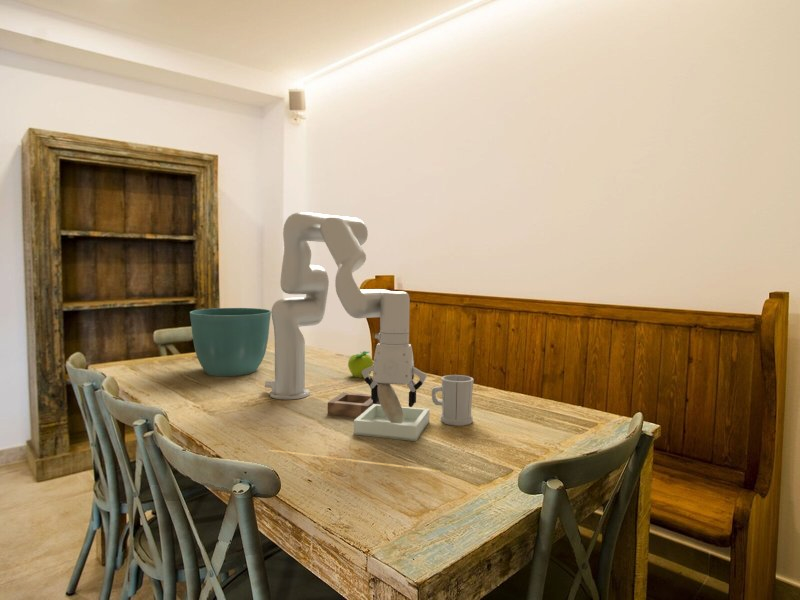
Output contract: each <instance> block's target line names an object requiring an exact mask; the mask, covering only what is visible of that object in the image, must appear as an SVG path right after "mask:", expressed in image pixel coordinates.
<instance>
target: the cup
mask: <svg viewBox="0 0 800 600" xmlns="http://www.w3.org/2000/svg"><path fill="white" fill-rule="evenodd" d="M474 380H475V379H474V378H473V377H471V376H469V375H463V374H462V375H461V374H460V375H459V374H450V375H449V374H448V375H444V376H442V377H440V381H441V385H438V386H434V387H432V389H431V401H432V403H433V404H434V405H435V406H441V408H442V410H441V414H440V421H441V423H442V424H446V425H447V426H456V427H462V426H463V427H464V426H468V425H470V424H472V423H473V421H474V417H473V415H472V405H473V404H472V403H473V400H472V399H473V389H474V382H475V381H474ZM438 392H441V399H442V400H439V399H438V397H437V395H436V394H437V393H438Z"/></svg>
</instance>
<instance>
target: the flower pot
mask: <svg viewBox="0 0 800 600" xmlns="http://www.w3.org/2000/svg"><path fill="white" fill-rule="evenodd" d="M271 311H272V310H270V309H266V308H265V309H264V308H251V307H250V308H249V307H220V308H218V307H217V308H202V309H195V310H192V311H189V318H190V319H189V320H190V324H191V325H190V326H191V334H192V340H193V341H192V342H193V346H194V351H195V355H196V358H197V359H198V362H199V364H200V366H201V368H202V369H203V370H204V371H205V373H206V374H207V375H210V376H213V377H214V376H217V377H237V375H238V376H244V374H245V375H248V374H253V373H255V372H256V371H257V370H258V369H259V367H260V365H261V364H262V362H263V361H264V358H265V355H266V352H267V347H268V342H269V341H268V340H269V334H270V333H269V332H270V323H271V317H272V313H271ZM254 371H255V372H254ZM252 372H253V373H252Z"/></svg>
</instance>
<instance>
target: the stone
mask: <svg viewBox="0 0 800 600" xmlns="http://www.w3.org/2000/svg"><path fill="white" fill-rule="evenodd" d="M377 395H378V399H379V402H380V404H381V407H382V409H383V411H384V413H385V415H386V416H387V418H388V419H389V421H390V422H391V423H402V421H403V411H402V407H403V406H402V405H401V403H400V399H399V398H398V396H397V393H396V392H395V389H394V387H393V386H392V384H385V383H378V386H377ZM401 406H402V407H401Z"/></svg>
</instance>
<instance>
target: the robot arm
mask: <svg viewBox="0 0 800 600" xmlns="http://www.w3.org/2000/svg"><path fill="white" fill-rule="evenodd" d="M282 231H283V232H282V237H283V239H282V240H283V248H284V249H283V257H282V265H281V273H280V289H281V291H282V292H283V293H284V294H287V295H305V296H304V297H300V296H299V297H298V296H297V297H296V296H295V297H285V298H284V297H283V298H280V299H278V300H276V301H275V302H274V303H273V305H272V307H271V310H270V311H271V319H272V325H273V330H274V331H273V332H274V334H273V335H274V380H273V381H272V380H265V382H264V388H270V389H271V390H270V392H269V397H270V398H273V399H276V400H285V401H287V400H288V401H289V400H298V399H300V400H301V399H303V398H306V397H308V396H309V395H310V392H311V391H310V390H309V389H308V388H306V387H305V386H306V383H305V382H306V341H305V340H306V339H305V337H304V335H303V334H302V332H301V330H300V327H311V326H316V325H318V324H320V323H321V322H322V321H323V319H324V316H325V312H326V306H327V300H328V293H329V286H330V285H329V283H330V282H329V276H328V272H327V270H326V269H325V268H324V267H322V266H321V265H317V264H311V260H312V250H311V246H310V244H309V242H315V243H316V242H319V243H325V245H326V247H327V249H328V251H329V252H330V255H331V256H332V258H333V260H334V262H335V264H336V265H337V271H336V274H335V280H334V281H335V282H334V283H335V285H334V286H335V292H336V295H337V297H338V300H339V301H340V304H341V305H342V307H343V309H344V311H345V312H346V313H347V314H348V315H349V316H350V317H352V318H354V319H368V318H380V319H379V332H378V333H374V339H375V340H376V339H377V340H378V343H377V344H376V347H375V351H374V356H373V366H371V367H369V368H366V369H364V370H363V371H362V374H363V377H364V378H363V379H364V382H366V384H367V385H368V386H369V388H370V395H371V400H373V404H376V403H377V402H378V401H379V399H378V395H377V386H378V383H385V384H391V385H398V386H399V385H400V386H401V385H403V386H407V387H408V389H410V390H409V392H408V407H413V406H414V405H415V404H416V403H417V390H418V389H419V388H421V387H422V386H423V384H424V383H425V381H426V379H427V377H428V375H427V373H425V372H424V371H422V370H420V369H419V368H417V367H415V363H414V354H413V347H412V346H413V345H412V344H411V343H410V342H409V341H410V302H411V301H410V294H409V293H408V292H406V291H400V290H399V291H395V290H388V289H383V288H382V289H381V288H375V289H372V288H370V289H360V287H358V285H357V283H356V281H355V278H354V277H353V273H354V272H357V271H358V270H359V269H360V268H361V267H363V266H364V265H365V262H366V260H367V255H366V252H365V251H364V249H363V247H362V246H363V245H364V244H365V243H366V242H367V240H368V236H369V234H368V233H369V232H368V228H367V226H366V223H364V221H363V220H361V219H359V218H358V217H350V216H343V215H342V216H340V215H333V214H332V215H331V214H323V213H317V212H315V213H313V212H305V211H304V212H303V211H302V212H295V213H292V214H290V215H289V216H288V217H287V218H286V220H285V222H284V225H283V230H282ZM369 372H371V373H372V376H370V374H369ZM415 375H416V376H418V377H419V379H418V381H417V383H416V382H415V381H414V379H415Z"/></svg>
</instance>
